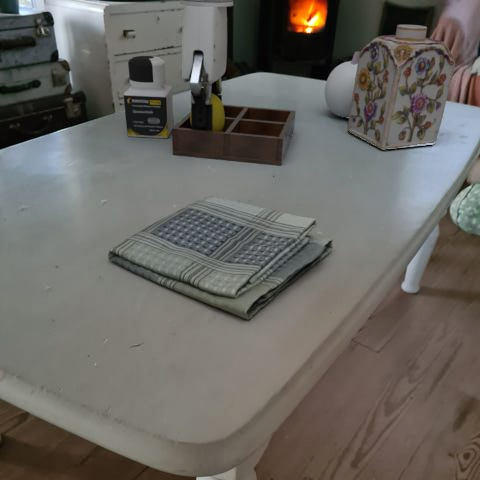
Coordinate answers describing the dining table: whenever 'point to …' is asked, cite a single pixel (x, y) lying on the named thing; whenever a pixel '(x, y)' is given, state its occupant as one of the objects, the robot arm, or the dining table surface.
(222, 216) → the dish towel
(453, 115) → the dining table surface
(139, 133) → the medicine bottle
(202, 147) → the divided wooden tray
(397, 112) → the decorative jar
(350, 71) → the ornament
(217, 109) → the lemon
